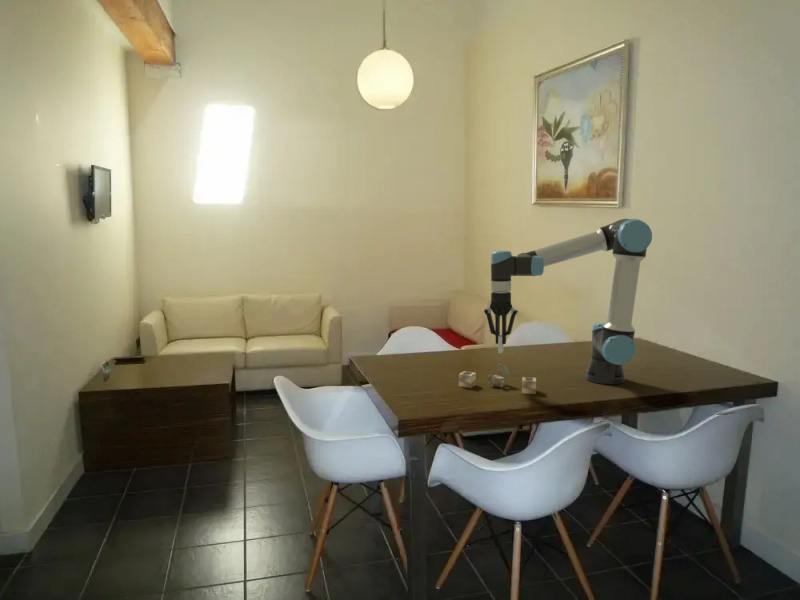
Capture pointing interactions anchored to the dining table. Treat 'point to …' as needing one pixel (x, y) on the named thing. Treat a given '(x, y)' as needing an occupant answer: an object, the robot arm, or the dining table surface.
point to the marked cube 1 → (467, 379)
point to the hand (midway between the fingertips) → (500, 352)
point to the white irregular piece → (499, 377)
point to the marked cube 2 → (528, 385)
